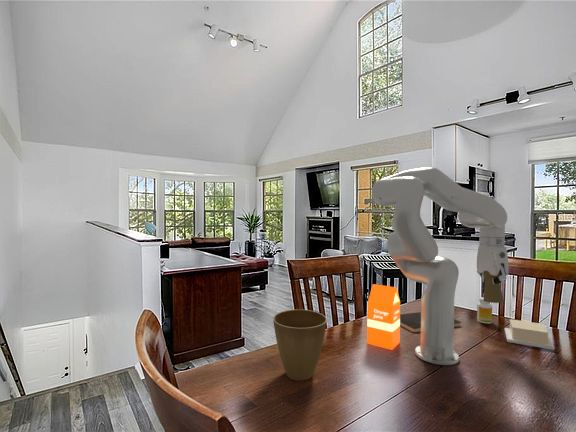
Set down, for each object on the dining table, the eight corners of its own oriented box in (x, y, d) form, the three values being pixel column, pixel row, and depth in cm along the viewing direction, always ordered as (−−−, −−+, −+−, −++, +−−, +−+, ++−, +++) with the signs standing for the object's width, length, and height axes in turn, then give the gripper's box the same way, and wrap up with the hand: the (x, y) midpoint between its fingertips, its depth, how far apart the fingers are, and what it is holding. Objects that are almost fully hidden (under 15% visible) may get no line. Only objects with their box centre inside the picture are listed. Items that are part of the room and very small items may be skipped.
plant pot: (266, 366, 96) (266, 312, 95) (312, 359, 101) (312, 307, 101) (283, 393, 82) (283, 330, 81) (336, 383, 87) (336, 323, 87)
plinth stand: (554, 349, 109) (554, 335, 109) (507, 341, 115) (507, 327, 115) (546, 336, 120) (547, 323, 120) (504, 330, 127) (504, 317, 126)
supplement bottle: (494, 324, 134) (495, 300, 133) (481, 323, 134) (482, 300, 134) (487, 319, 139) (487, 296, 139) (474, 319, 139) (474, 296, 139)
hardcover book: (461, 327, 131) (461, 322, 131) (413, 334, 124) (413, 328, 123) (432, 315, 146) (432, 310, 146) (388, 320, 139) (388, 315, 139)
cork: (498, 300, 116) (496, 268, 117) (507, 303, 110) (504, 269, 111) (480, 299, 117) (478, 268, 118) (487, 302, 111) (485, 269, 112)
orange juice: (392, 350, 108) (392, 289, 107) (366, 343, 113) (367, 285, 113) (400, 342, 114) (400, 285, 114) (375, 336, 119) (376, 281, 119)
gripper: (520, 244, 107) (519, 300, 107) (484, 240, 123) (483, 288, 123) (499, 244, 106) (498, 301, 106) (466, 240, 122) (465, 289, 122)
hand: (490, 294), depth 115 cm, fingers closed on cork, 2 cm apart
